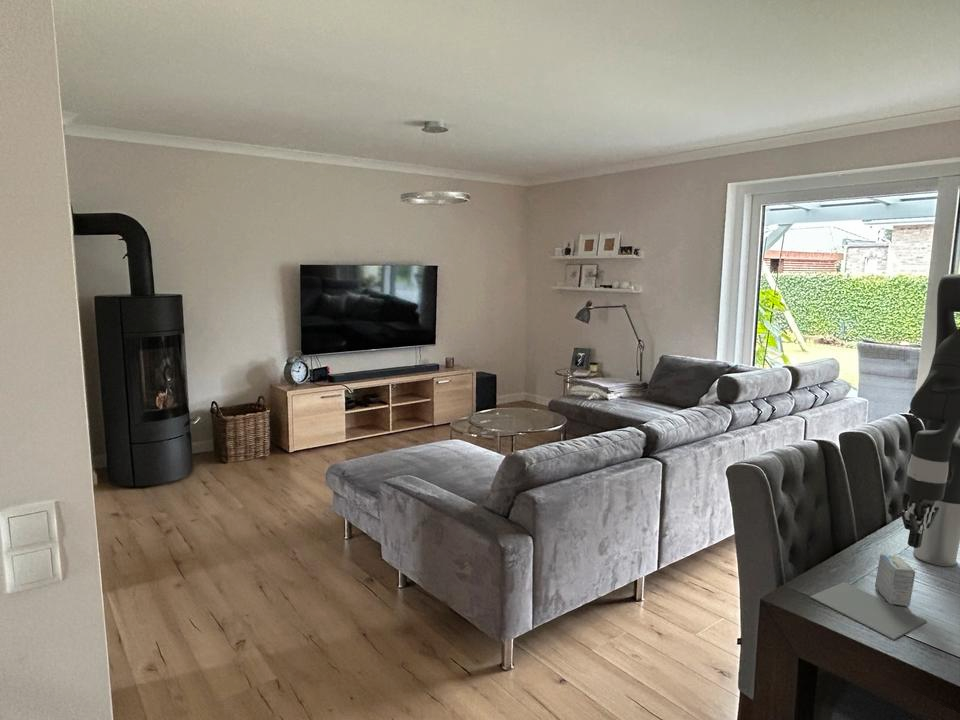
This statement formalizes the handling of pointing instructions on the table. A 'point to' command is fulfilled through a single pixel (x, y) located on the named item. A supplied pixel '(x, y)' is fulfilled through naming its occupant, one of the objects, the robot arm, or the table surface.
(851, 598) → the slate mat
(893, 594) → the medicine box
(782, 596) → the table surface
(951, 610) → the table surface
